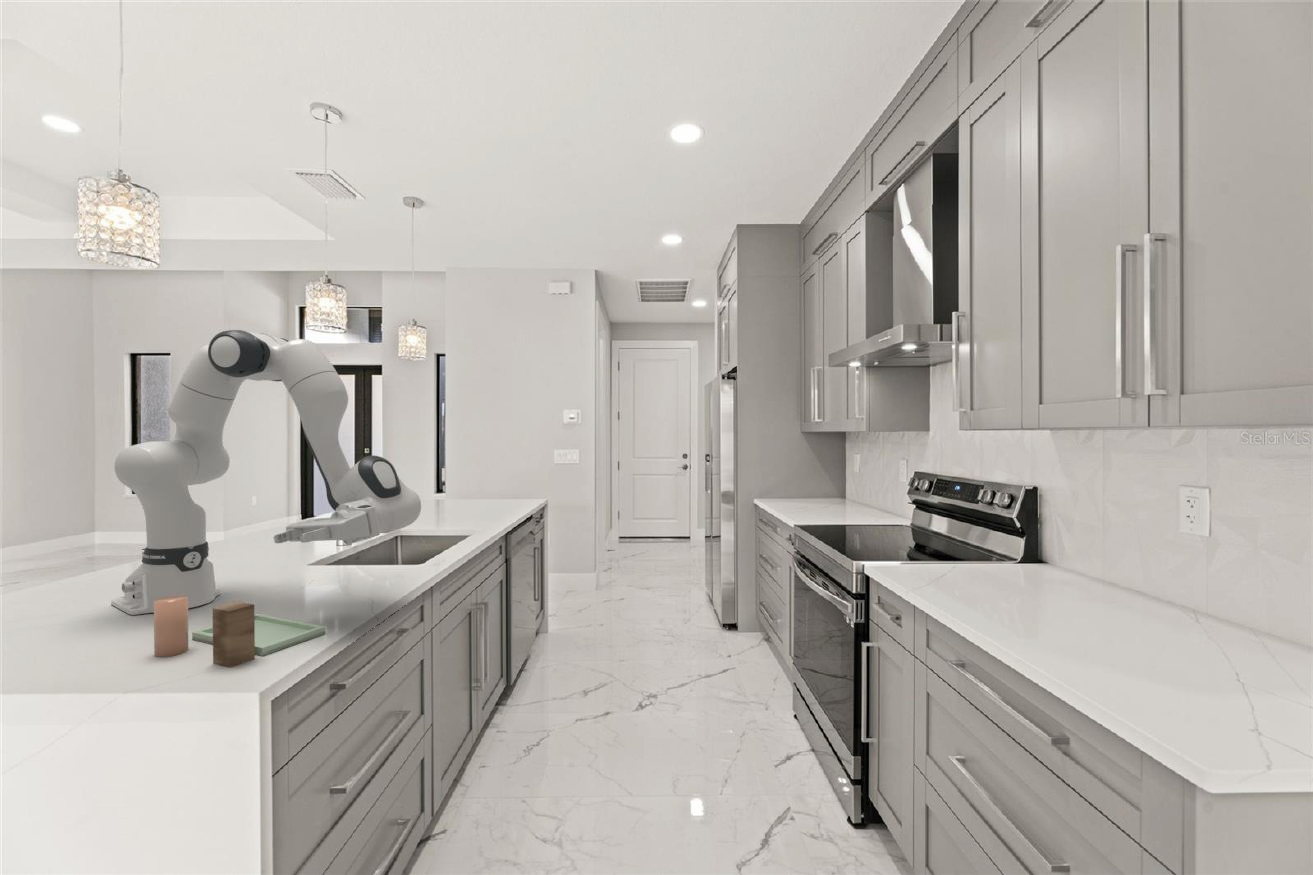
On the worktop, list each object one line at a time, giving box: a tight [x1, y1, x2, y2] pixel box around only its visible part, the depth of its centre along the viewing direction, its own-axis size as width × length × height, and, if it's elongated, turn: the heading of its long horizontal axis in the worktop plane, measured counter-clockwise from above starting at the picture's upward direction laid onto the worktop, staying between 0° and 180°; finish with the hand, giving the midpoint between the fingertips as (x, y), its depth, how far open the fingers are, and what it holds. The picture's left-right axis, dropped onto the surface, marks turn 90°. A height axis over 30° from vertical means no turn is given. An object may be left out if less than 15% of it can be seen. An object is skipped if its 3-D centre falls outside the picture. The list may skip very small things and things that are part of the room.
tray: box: [191, 613, 326, 657], centre depth 122 cm, size 21×13×2 cm, turn 67°
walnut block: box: [212, 601, 256, 668], centre depth 110 cm, size 4×4×10 cm
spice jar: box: [153, 595, 189, 658], centre depth 114 cm, size 5×5×10 cm
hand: (288, 539), depth 120 cm, fingers open, 8 cm apart
